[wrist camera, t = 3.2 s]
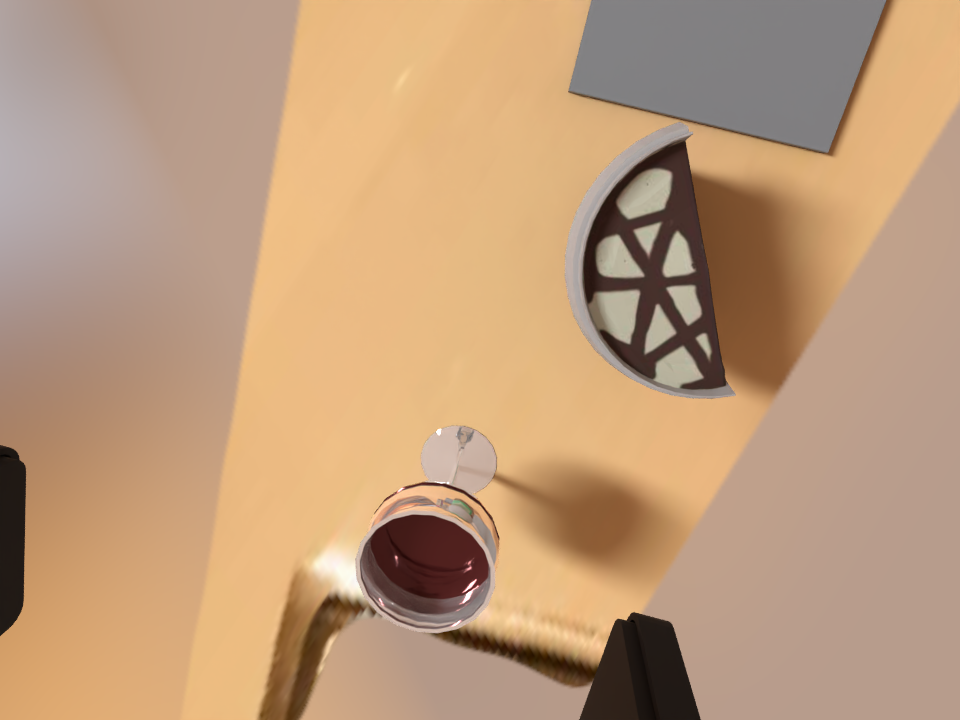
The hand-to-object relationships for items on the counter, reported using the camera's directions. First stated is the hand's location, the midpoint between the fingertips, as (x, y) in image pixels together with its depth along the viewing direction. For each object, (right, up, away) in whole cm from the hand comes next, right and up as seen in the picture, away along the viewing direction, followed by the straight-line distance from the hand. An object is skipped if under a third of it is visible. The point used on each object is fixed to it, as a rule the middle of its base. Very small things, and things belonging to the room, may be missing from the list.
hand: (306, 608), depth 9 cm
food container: (+11, +10, +26) cm, 30 cm away
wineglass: (+1, -3, +31) cm, 31 cm away
